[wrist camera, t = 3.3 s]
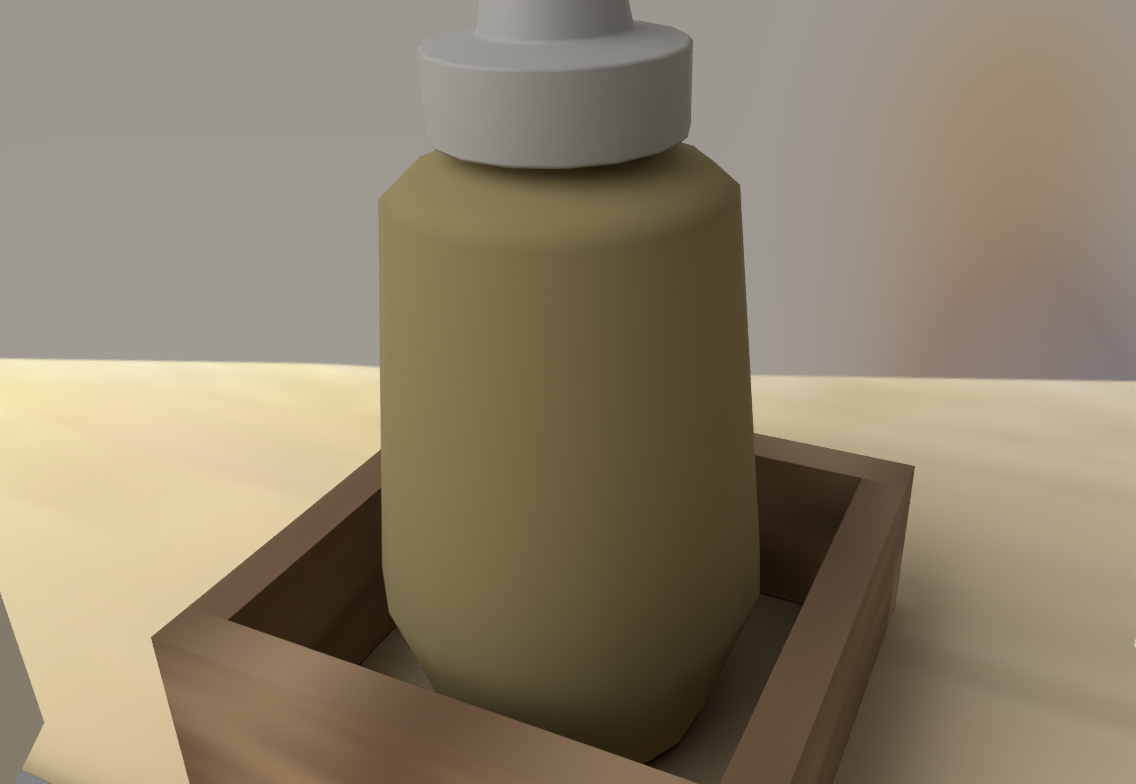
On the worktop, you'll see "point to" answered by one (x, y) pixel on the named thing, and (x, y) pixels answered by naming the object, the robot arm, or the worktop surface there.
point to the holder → (483, 738)
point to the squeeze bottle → (566, 380)
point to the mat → (29, 779)
